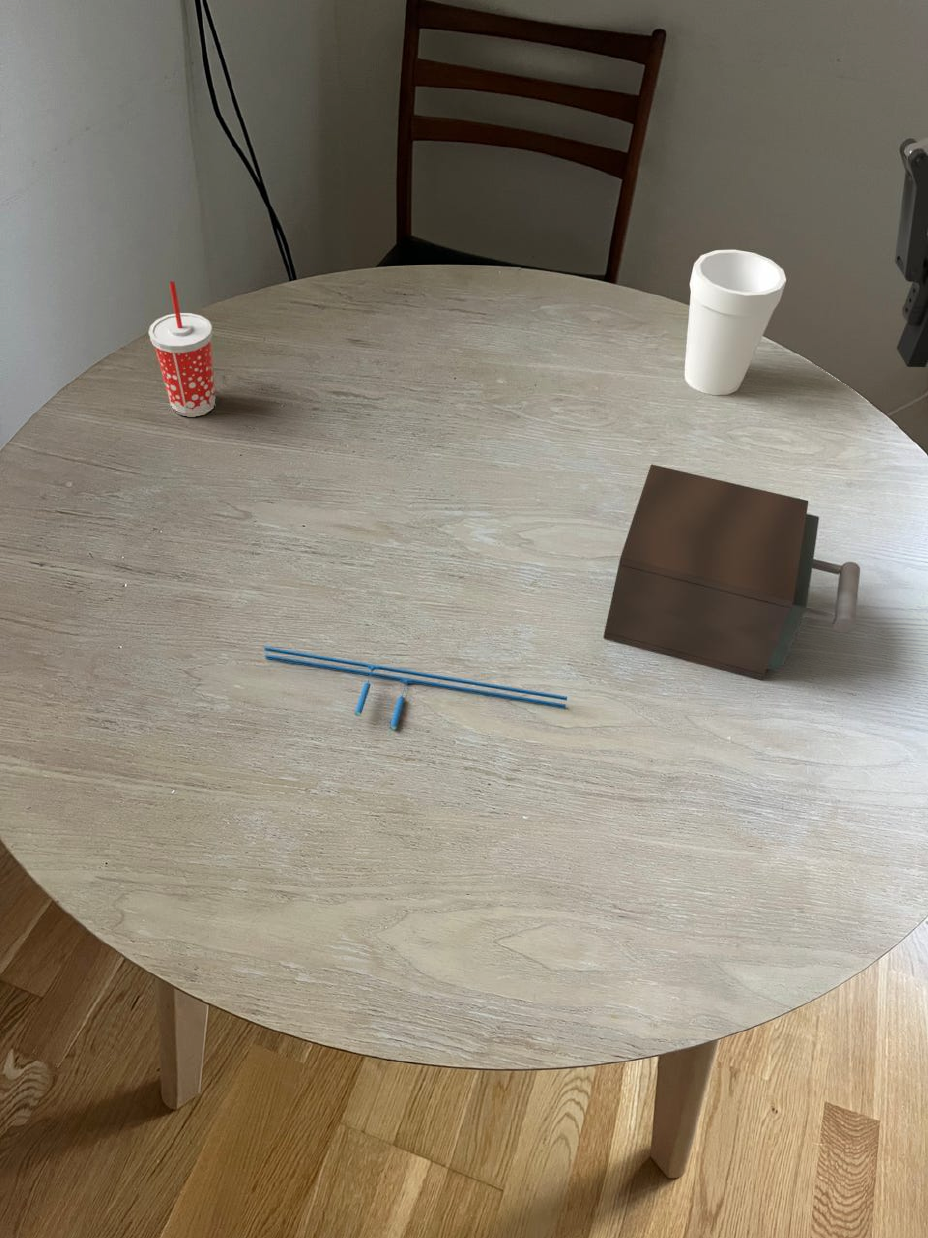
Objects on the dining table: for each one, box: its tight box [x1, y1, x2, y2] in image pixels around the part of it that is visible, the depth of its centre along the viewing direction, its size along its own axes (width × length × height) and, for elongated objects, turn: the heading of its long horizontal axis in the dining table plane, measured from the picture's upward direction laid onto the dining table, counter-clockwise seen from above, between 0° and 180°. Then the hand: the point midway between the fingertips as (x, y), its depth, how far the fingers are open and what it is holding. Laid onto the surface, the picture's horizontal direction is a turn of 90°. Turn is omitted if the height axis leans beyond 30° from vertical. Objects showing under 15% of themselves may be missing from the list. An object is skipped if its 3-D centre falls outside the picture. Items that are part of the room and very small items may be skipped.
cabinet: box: [603, 463, 809, 681], centre depth 89 cm, size 14×13×10 cm
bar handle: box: [263, 646, 568, 731], centre depth 83 cm, size 1×25×5 cm
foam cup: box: [684, 249, 787, 396], centre depth 112 cm, size 10×9×13 cm
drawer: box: [766, 513, 861, 673], centre depth 88 cm, size 17×11×8 cm
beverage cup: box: [148, 280, 217, 413], centre depth 104 cm, size 6×6×14 cm
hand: (910, 357), depth 84 cm, fingers closed
